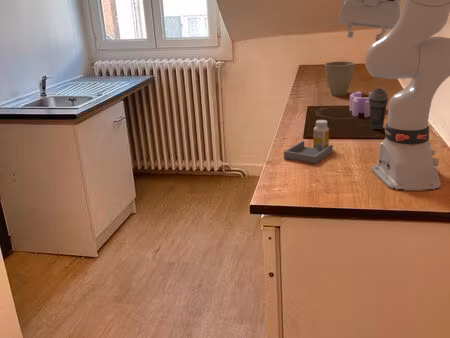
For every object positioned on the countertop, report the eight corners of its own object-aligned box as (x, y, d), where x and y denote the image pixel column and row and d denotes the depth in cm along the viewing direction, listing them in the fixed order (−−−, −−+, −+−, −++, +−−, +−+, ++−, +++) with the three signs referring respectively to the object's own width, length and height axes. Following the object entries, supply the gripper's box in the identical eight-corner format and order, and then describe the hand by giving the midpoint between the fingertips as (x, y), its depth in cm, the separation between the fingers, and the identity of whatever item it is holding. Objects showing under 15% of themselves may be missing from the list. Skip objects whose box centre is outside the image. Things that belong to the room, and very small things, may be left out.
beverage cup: (373, 132, 179) (376, 80, 171) (363, 127, 185) (365, 76, 178) (390, 129, 180) (393, 77, 173) (379, 124, 187) (382, 74, 180)
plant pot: (351, 90, 248) (352, 60, 242) (355, 96, 234) (357, 65, 228) (322, 91, 250) (323, 61, 244) (325, 98, 236) (326, 66, 230)
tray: (302, 147, 167) (302, 140, 166) (332, 152, 160) (332, 145, 159) (284, 158, 157) (283, 151, 156) (315, 164, 150) (315, 156, 149)
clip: (376, 118, 197) (377, 102, 194) (346, 117, 201) (346, 101, 199) (379, 106, 214) (379, 91, 212) (351, 106, 219) (351, 91, 216)
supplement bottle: (315, 150, 163) (316, 124, 159) (311, 145, 168) (311, 119, 164) (330, 149, 163) (331, 122, 160) (326, 144, 168) (326, 118, 165)
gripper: (341, -8, 159) (332, 32, 160) (404, -3, 151) (393, 39, 152) (344, -1, 165) (335, 37, 165) (404, 4, 157) (394, 45, 157)
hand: (363, 38), depth 158 cm, fingers open, 8 cm apart
